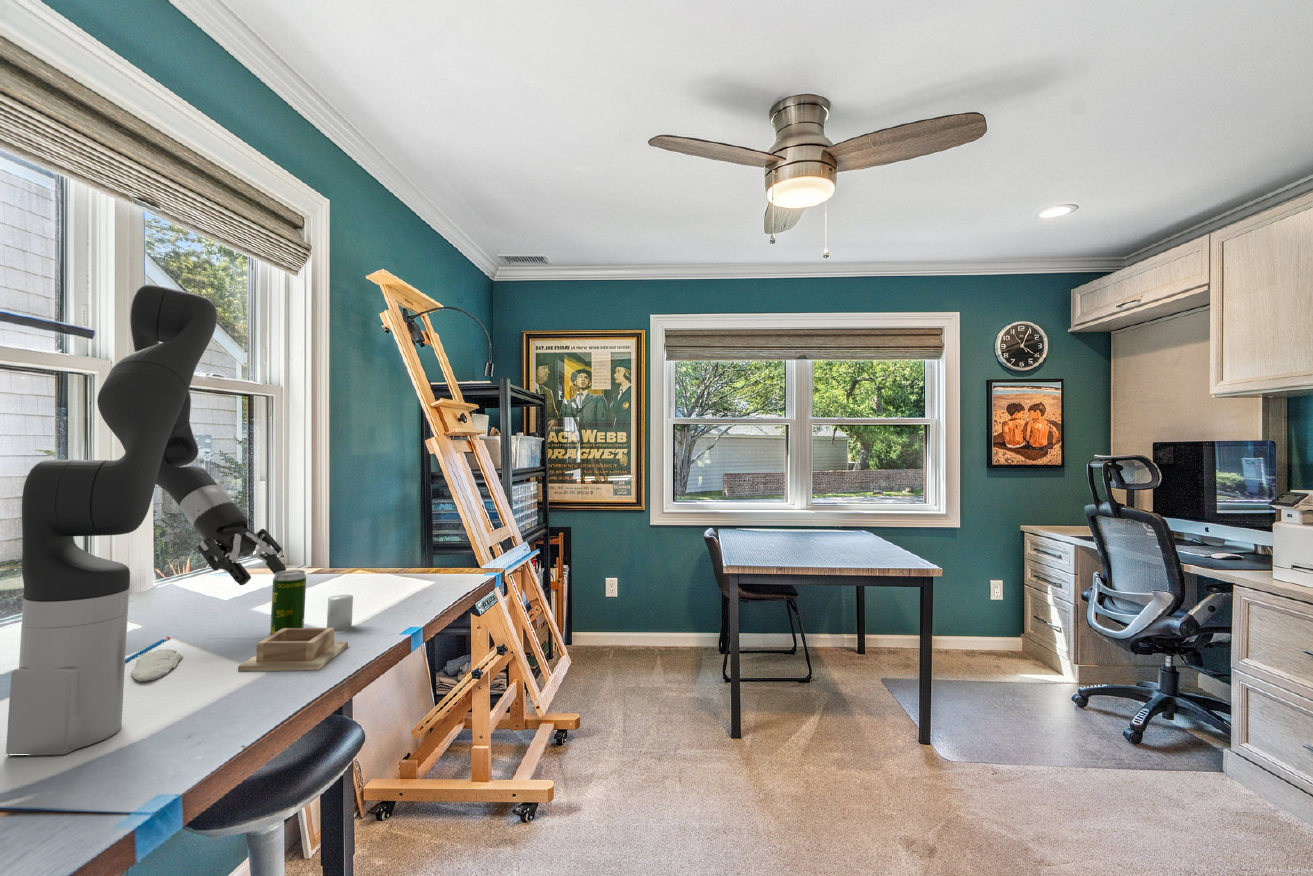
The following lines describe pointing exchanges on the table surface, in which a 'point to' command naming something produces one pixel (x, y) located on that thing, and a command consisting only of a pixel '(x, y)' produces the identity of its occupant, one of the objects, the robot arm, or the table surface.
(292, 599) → the beer can
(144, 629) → the table surface
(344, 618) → the short post
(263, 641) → the socket
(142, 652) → the pencil
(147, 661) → the stone tool
